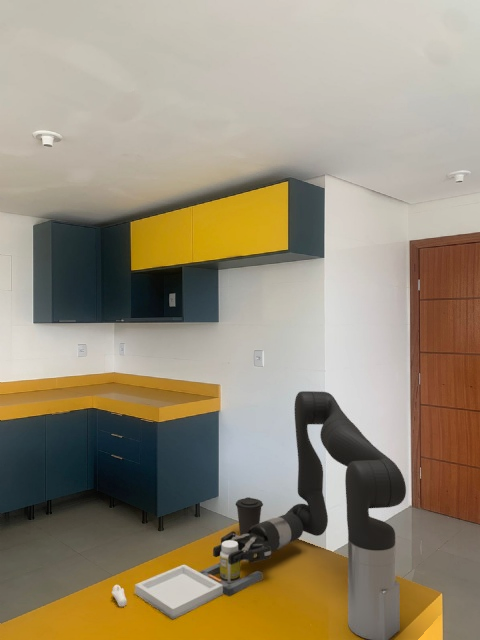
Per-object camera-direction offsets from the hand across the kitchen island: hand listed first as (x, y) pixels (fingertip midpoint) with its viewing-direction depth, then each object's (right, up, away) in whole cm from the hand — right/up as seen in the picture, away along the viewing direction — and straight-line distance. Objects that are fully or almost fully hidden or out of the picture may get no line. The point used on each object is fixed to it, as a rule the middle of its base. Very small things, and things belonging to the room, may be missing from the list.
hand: (221, 556), depth 119 cm
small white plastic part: (-22, -6, -9) cm, 25 cm away
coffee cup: (+7, -7, +28) cm, 30 cm away
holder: (+2, -6, +2) cm, 7 cm away
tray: (-10, -6, -5) cm, 12 cm away
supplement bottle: (+2, -6, +2) cm, 7 cm away
